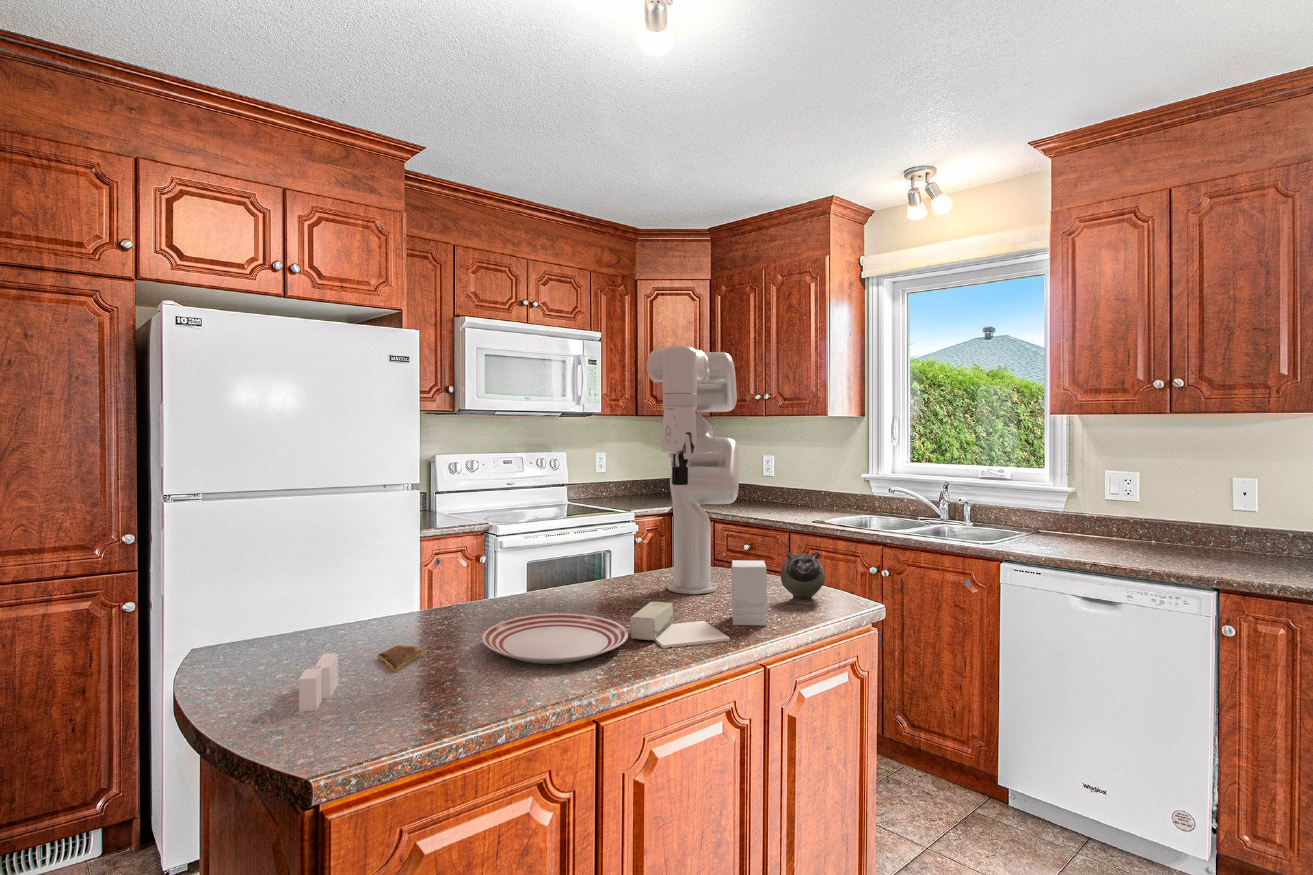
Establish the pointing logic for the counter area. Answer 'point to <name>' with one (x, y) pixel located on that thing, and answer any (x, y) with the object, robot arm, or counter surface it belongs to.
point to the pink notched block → (318, 682)
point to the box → (651, 620)
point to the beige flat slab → (690, 635)
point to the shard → (400, 656)
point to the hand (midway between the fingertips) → (679, 484)
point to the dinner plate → (554, 637)
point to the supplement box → (749, 592)
